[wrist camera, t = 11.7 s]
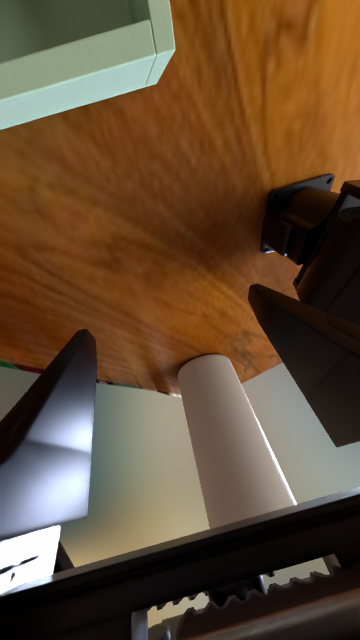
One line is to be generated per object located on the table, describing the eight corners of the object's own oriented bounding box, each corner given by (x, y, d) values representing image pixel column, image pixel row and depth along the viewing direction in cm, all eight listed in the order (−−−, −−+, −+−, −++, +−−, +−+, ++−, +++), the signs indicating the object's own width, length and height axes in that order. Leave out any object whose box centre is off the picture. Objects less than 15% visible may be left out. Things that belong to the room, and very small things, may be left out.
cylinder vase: (235, 348, 38) (325, 523, 21) (223, 376, 46) (279, 514, 29) (177, 358, 35) (224, 561, 18) (176, 385, 44) (207, 539, 27)
